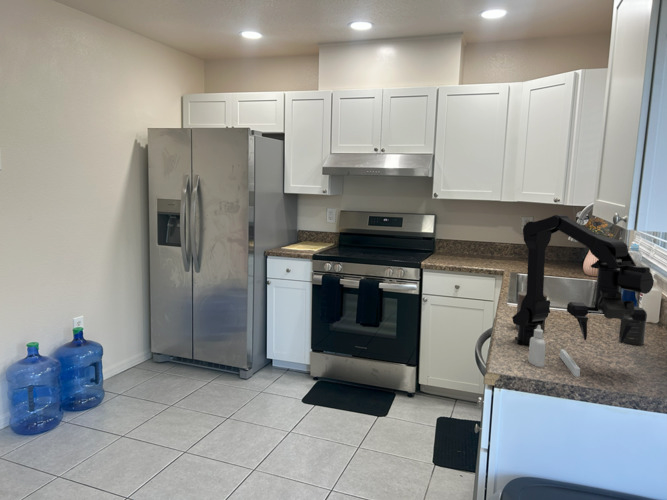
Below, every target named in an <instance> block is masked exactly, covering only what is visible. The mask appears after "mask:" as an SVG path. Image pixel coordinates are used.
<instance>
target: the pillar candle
mask: <svg viewBox="0 0 667 500" xmlns="http://www.w3.org/2000/svg"><path fill="white" fill-rule="evenodd" d="M526 293H527V290H523V291H519V292H517V303H516V304H517V305H516V314H517V313H518V312H519V311H520V308H521V302H522V300H523V299H524V297H525V295H526ZM543 295H544V297H545V299H546V300H548V299H547V298H548V295H547V294H546V293H544V292H543ZM545 324H546V319H545V320H544V323H543V324H542V325H541V324H540V326H541V330H543V334H544V333H545ZM537 327H538V325H537ZM515 329H516V331H518V325H516V324H515Z"/></svg>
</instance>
